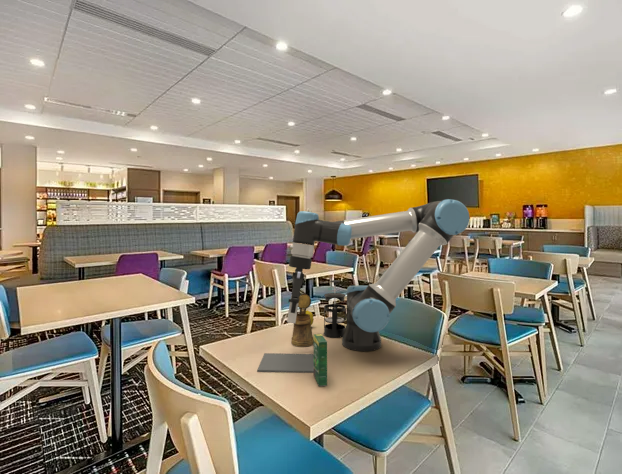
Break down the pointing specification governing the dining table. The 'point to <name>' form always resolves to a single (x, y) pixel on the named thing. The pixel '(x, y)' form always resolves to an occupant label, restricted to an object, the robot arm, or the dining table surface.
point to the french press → (334, 315)
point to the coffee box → (320, 359)
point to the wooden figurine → (302, 324)
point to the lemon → (310, 316)
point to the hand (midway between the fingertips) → (291, 318)
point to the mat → (287, 363)
